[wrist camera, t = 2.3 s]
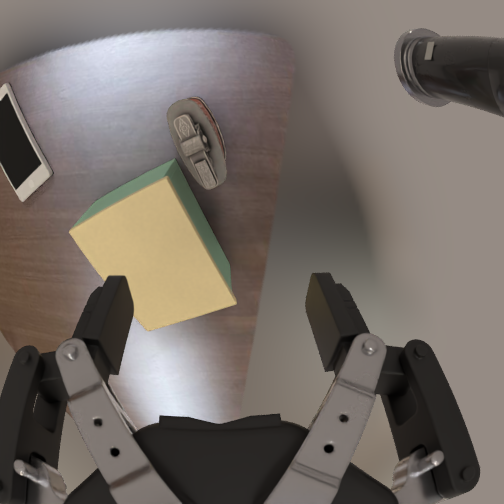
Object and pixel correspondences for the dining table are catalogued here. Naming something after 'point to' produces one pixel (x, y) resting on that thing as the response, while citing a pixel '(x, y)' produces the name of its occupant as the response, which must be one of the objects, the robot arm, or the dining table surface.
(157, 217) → the lunchbox lid
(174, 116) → the lighter
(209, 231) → the box
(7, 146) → the smartphone
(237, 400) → the dining table surface
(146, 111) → the dining table surface
